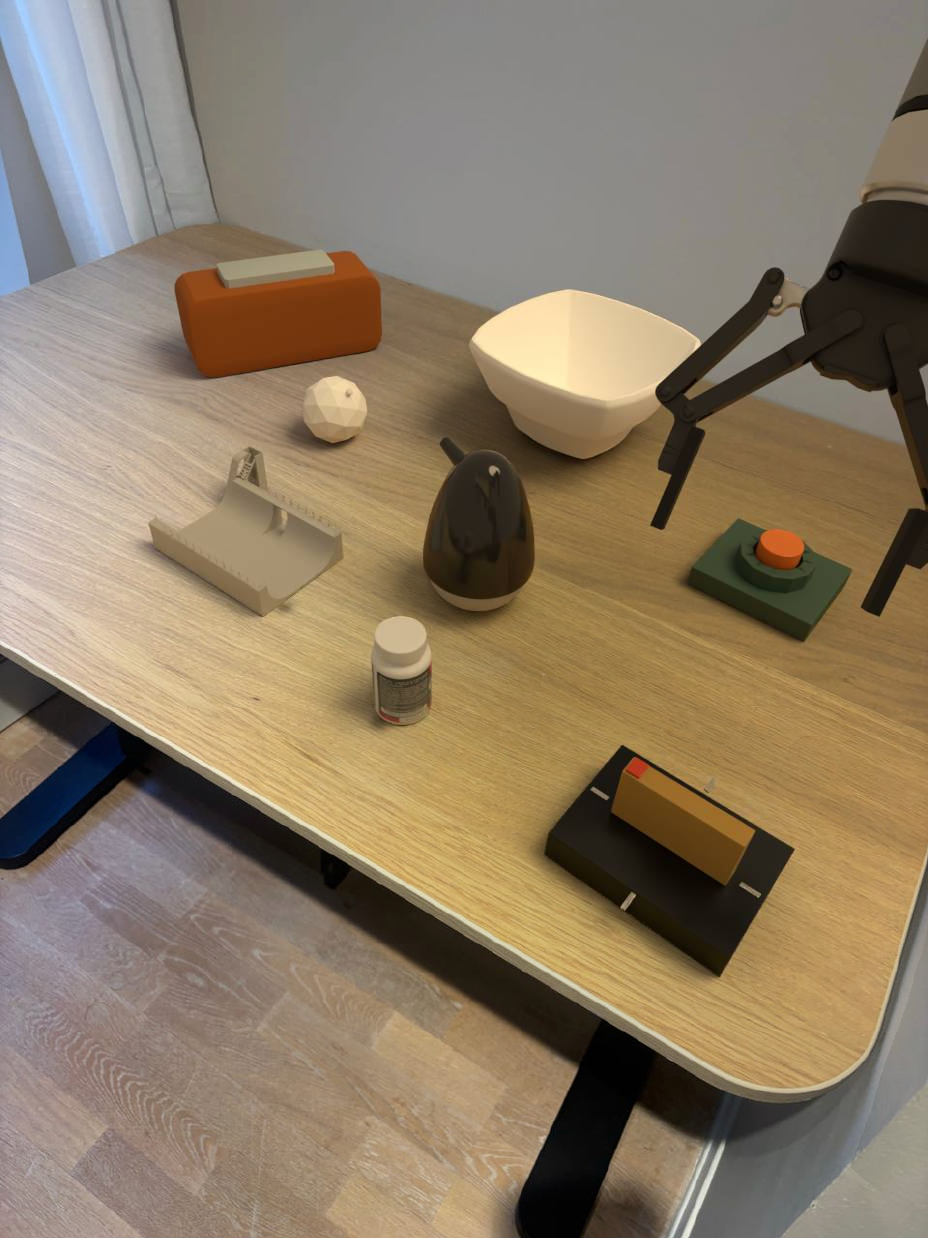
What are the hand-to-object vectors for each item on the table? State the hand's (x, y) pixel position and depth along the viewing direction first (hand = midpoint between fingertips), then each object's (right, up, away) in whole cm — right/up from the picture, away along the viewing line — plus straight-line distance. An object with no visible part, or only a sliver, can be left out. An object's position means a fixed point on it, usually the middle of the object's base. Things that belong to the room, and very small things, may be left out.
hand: (760, 569), depth 54 cm
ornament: (-33, +18, +46) cm, 59 cm away
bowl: (-6, +19, +49) cm, 52 cm away
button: (+11, +3, +28) cm, 30 cm away
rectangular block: (-4, -18, +7) cm, 20 cm away
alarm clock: (-42, +32, +60) cm, 80 cm away
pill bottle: (-23, -10, +18) cm, 32 cm away
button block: (+11, 0, +31) cm, 33 cm away
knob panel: (-4, -21, +9) cm, 23 cm away
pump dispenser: (-17, 0, +29) cm, 33 cm away
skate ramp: (-39, +4, +32) cm, 50 cm away
